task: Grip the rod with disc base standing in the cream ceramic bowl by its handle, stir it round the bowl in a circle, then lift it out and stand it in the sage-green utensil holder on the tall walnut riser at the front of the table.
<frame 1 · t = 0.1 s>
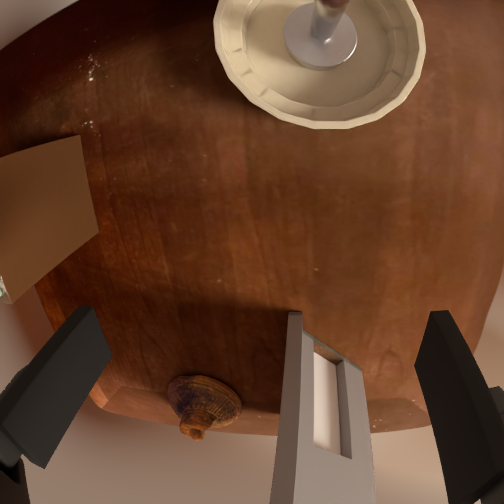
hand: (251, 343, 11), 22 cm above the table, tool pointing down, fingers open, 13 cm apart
bell: (205, 396, 46), on the table
rod with disc base: (318, 40, 23), point 1 cm above the table, touching mixing bowl
mixing bowl: (317, 42, 24), on the table
cabinet: (325, 371, 40), on the table
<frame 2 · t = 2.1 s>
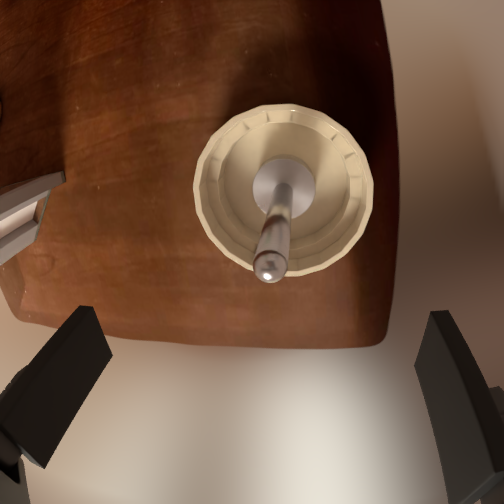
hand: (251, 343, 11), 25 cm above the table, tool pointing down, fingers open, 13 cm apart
rod with disc base: (285, 182, 32), point 1 cm above the table, touching mixing bowl
mixing bowl: (285, 180, 33), on the table
cabinet: (26, 211, 40), on the table
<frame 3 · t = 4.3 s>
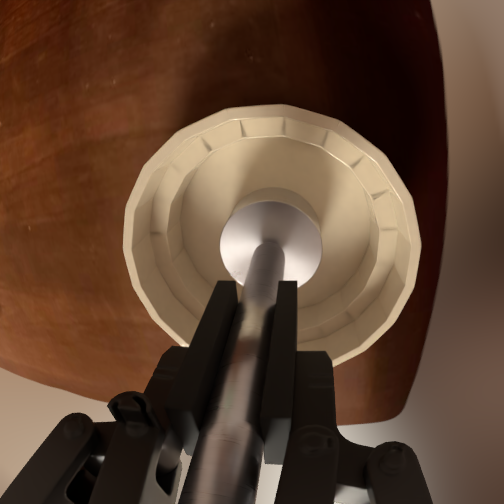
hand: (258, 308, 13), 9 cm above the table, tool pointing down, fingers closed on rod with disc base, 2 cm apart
rod with disc base: (274, 231, 21), point 1 cm above the table, touching gripper, mixing bowl
mixing bowl: (274, 226, 22), on the table
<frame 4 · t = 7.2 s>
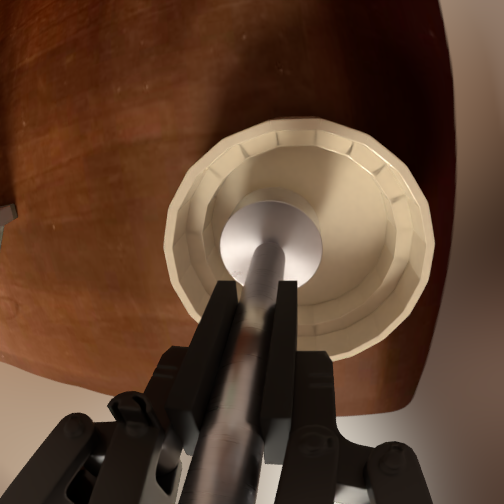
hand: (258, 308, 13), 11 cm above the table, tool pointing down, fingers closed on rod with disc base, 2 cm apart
rod with disc base: (274, 231, 21), point 3 cm above the table, touching gripper
mixing bowl: (300, 227, 24), on the table
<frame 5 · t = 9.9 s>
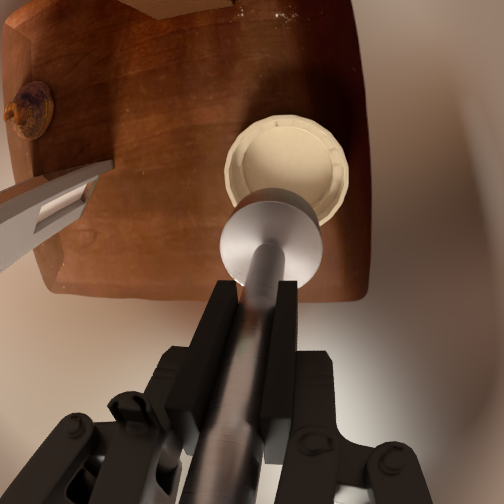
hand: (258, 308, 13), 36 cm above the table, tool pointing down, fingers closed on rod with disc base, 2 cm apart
bell: (35, 109, 46), on the table
rod with disc base: (274, 231, 21), point 27 cm above the table, touching gripper
mixing bowl: (287, 168, 46), on the table
cabinet: (73, 192, 52), on the table
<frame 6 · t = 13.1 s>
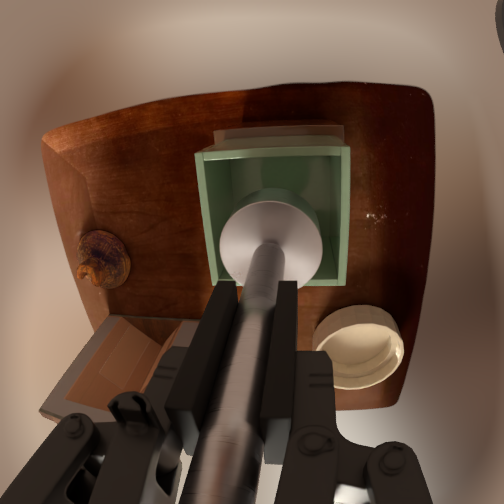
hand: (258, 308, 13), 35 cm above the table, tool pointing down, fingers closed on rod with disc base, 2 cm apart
utensil holder: (281, 189, 30), on the table
bell: (105, 256, 56), on the table
rod with disc base: (274, 231, 21), point 26 cm above the table, touching gripper
mixing bowl: (355, 337, 56), on the table
cabinet: (158, 335, 62), on the table
when the fingers open (25 cm above the table, at t = 15.3 s): rod with disc base stays where it is, resting on utensil holder.
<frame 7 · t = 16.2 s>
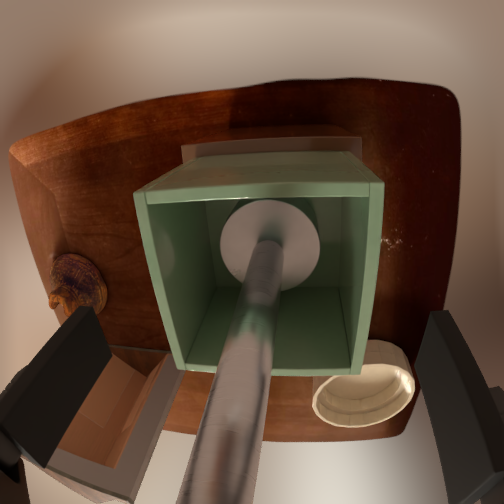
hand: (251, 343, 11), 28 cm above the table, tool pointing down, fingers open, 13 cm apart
utensil holder: (274, 225, 22), on the table
bell: (81, 282, 48), on the table
rod with disc base: (273, 229, 21), point 17 cm above the table, touching utensil holder
mixing bowl: (360, 372, 48), on the table
cabinet: (142, 365, 55), on the table
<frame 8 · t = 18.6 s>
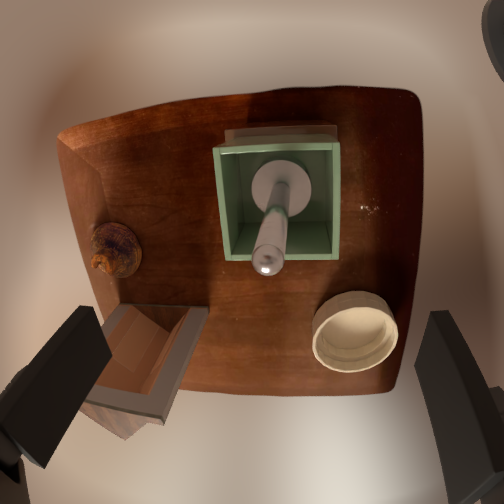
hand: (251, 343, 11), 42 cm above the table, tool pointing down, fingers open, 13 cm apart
utensil holder: (283, 180, 34), on the table
bell: (117, 247, 60), on the table
rod with disc base: (282, 182, 34), point 17 cm above the table, touching utensil holder
mixing bowl: (352, 322, 60), on the table
cabinet: (166, 322, 67), on the table
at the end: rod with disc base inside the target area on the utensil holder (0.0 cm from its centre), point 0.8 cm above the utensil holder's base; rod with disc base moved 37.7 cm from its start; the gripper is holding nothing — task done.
